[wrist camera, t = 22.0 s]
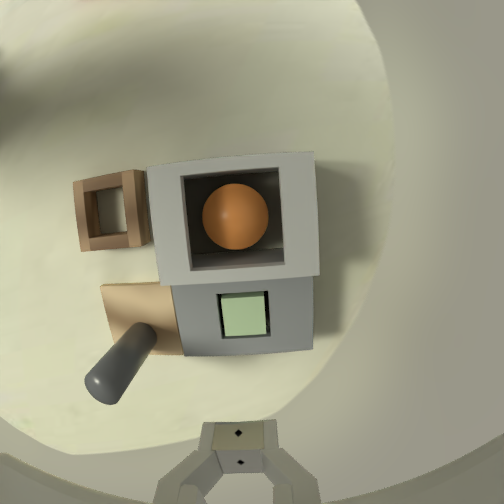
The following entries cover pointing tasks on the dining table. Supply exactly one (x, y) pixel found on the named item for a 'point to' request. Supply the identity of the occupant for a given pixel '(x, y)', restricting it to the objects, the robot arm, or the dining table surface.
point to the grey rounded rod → (120, 364)
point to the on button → (243, 313)
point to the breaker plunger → (235, 216)
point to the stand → (133, 211)
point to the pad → (143, 313)
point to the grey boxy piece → (239, 257)
